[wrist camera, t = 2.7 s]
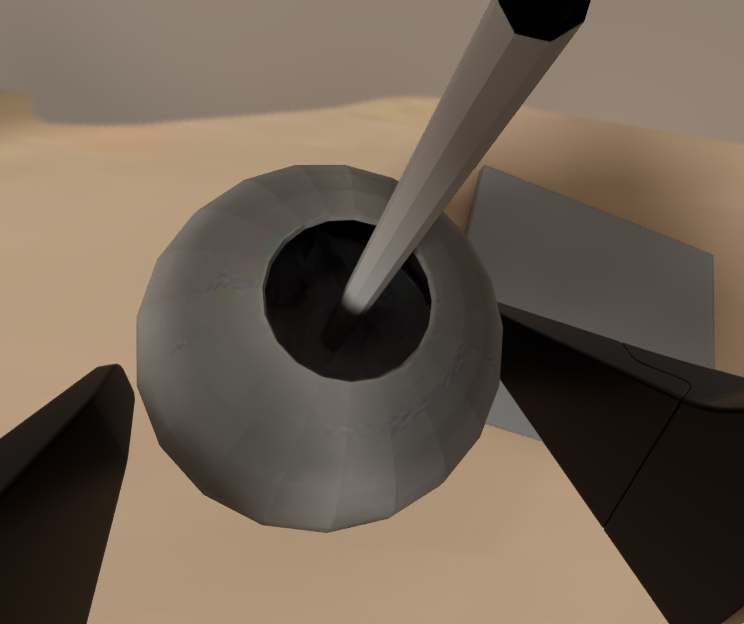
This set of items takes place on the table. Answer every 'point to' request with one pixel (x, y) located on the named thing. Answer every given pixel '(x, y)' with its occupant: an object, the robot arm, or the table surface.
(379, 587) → the table surface
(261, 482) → the beverage cup
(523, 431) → the rubber mat
